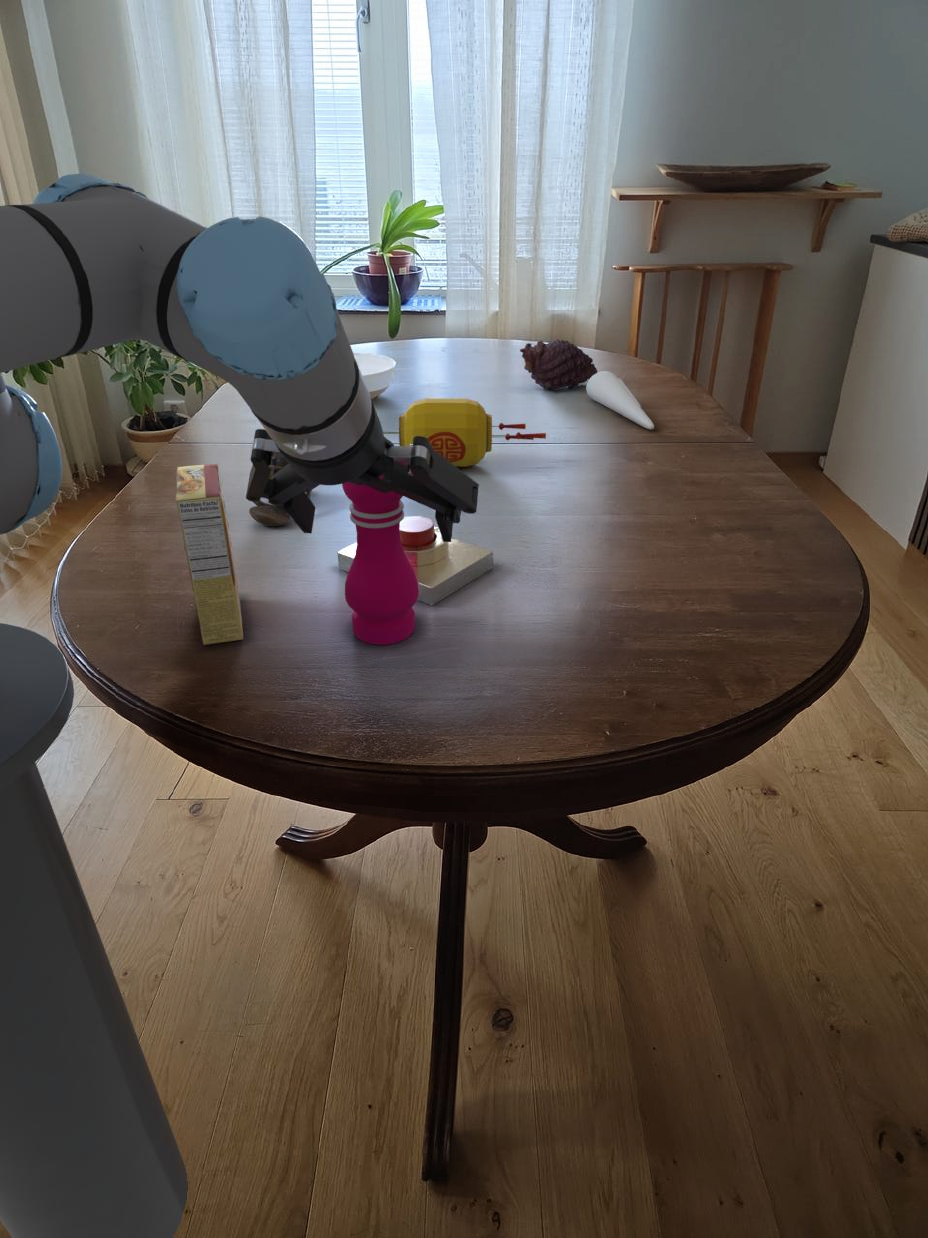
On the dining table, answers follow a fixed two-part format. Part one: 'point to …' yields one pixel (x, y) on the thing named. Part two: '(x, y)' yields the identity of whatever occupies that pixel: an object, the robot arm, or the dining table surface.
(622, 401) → the long cone
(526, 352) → the pine cone
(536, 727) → the dining table surface
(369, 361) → the bowl
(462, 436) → the lantern
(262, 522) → the brass desk clock
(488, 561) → the control block
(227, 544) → the candy box
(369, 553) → the pepper mill
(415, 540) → the button
